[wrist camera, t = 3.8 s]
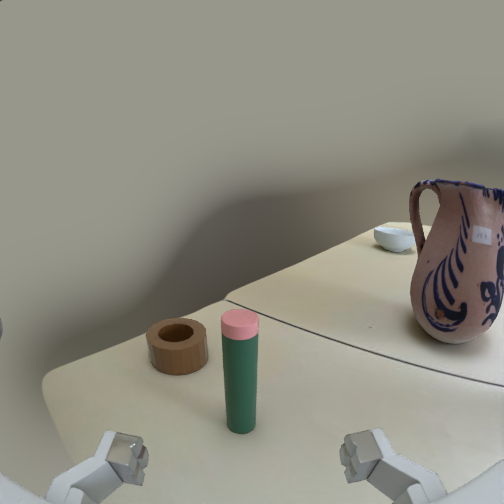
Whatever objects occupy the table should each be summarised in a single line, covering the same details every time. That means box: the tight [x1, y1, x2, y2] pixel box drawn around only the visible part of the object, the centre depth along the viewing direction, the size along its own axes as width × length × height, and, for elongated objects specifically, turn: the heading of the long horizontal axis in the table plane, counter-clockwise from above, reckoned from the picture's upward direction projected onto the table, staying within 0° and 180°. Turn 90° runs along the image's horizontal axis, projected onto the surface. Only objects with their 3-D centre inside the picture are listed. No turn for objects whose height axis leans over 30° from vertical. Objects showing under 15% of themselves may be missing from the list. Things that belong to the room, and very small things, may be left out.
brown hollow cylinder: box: [146, 318, 208, 375], centre depth 34 cm, size 8×8×4 cm
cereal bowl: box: [374, 227, 415, 252], centre depth 92 cm, size 17×17×7 cm
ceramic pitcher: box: [409, 179, 504, 344], centre depth 36 cm, size 18×21×25 cm
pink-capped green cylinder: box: [221, 309, 259, 434], centre depth 22 cm, size 3×3×13 cm
